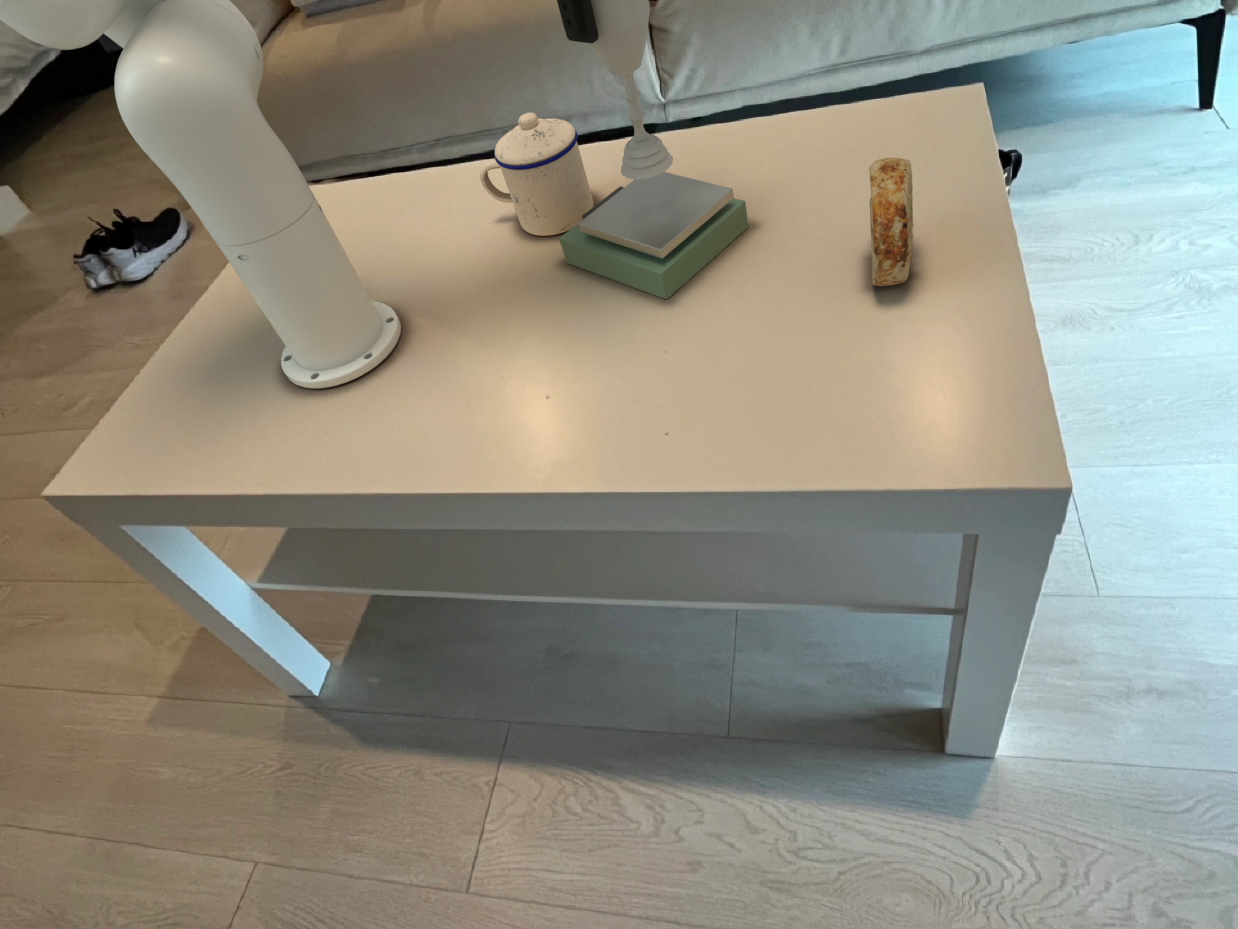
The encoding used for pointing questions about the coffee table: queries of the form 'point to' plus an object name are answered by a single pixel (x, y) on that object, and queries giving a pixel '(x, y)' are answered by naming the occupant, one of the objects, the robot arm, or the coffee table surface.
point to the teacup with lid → (541, 175)
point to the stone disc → (891, 220)
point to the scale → (649, 269)
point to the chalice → (629, 78)
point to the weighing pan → (656, 213)
